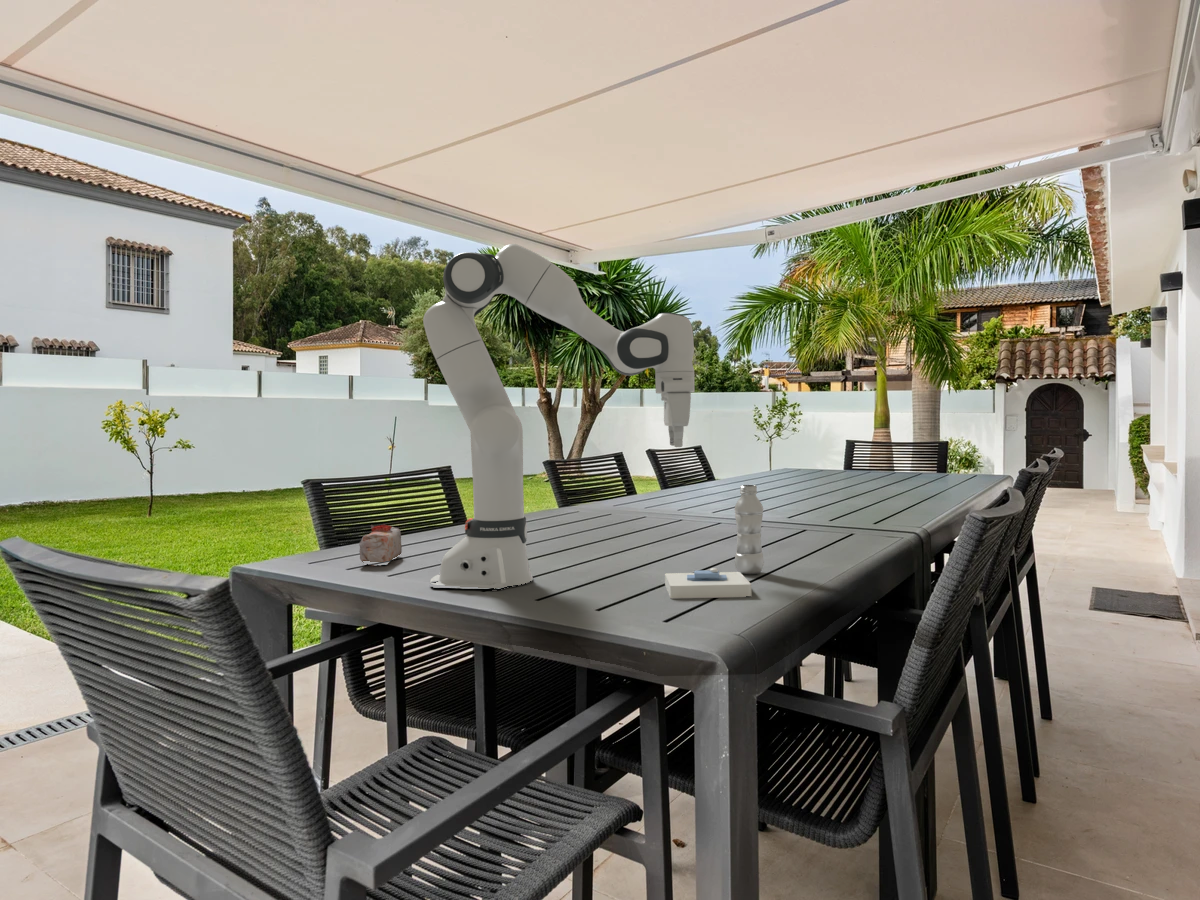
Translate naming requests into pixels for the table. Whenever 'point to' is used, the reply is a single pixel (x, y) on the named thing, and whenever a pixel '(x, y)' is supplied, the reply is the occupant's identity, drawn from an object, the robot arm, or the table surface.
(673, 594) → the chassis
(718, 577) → the servo
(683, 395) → the robot arm
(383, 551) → the food item
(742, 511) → the plastic bottle
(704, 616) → the table surface
